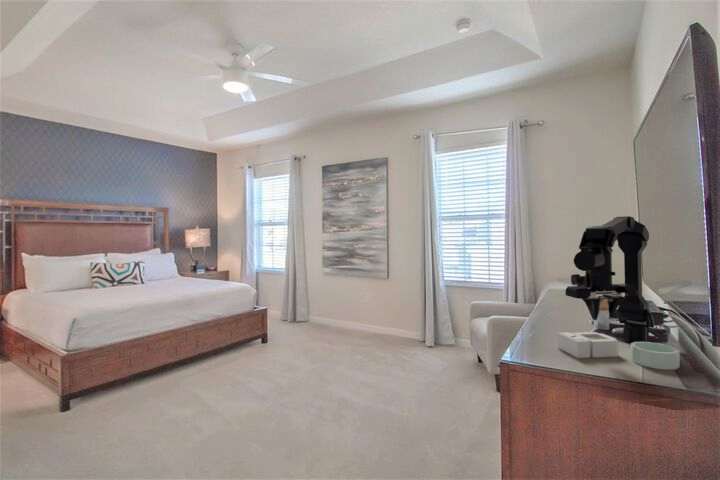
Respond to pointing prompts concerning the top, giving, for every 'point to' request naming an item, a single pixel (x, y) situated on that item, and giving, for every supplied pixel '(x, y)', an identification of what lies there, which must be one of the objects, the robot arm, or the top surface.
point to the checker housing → (587, 344)
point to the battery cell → (602, 314)
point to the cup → (655, 355)
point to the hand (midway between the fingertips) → (601, 319)
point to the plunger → (593, 338)
